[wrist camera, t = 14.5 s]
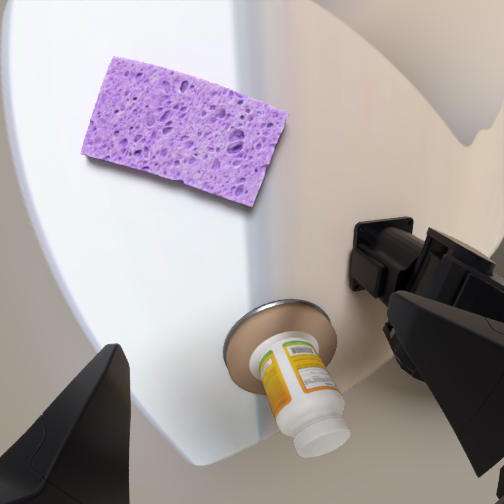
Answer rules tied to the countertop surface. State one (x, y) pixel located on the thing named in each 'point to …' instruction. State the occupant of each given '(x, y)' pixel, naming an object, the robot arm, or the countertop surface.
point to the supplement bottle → (303, 397)
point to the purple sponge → (183, 129)
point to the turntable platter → (276, 339)
